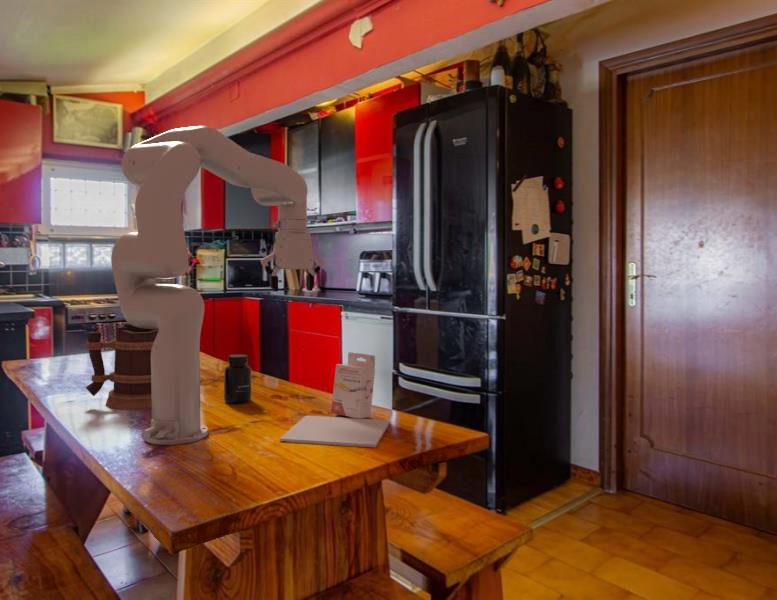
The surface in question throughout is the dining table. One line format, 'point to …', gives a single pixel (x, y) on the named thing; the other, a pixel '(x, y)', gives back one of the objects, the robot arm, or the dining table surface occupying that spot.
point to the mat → (337, 431)
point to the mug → (124, 367)
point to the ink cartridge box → (354, 386)
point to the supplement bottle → (237, 380)
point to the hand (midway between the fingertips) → (292, 290)
